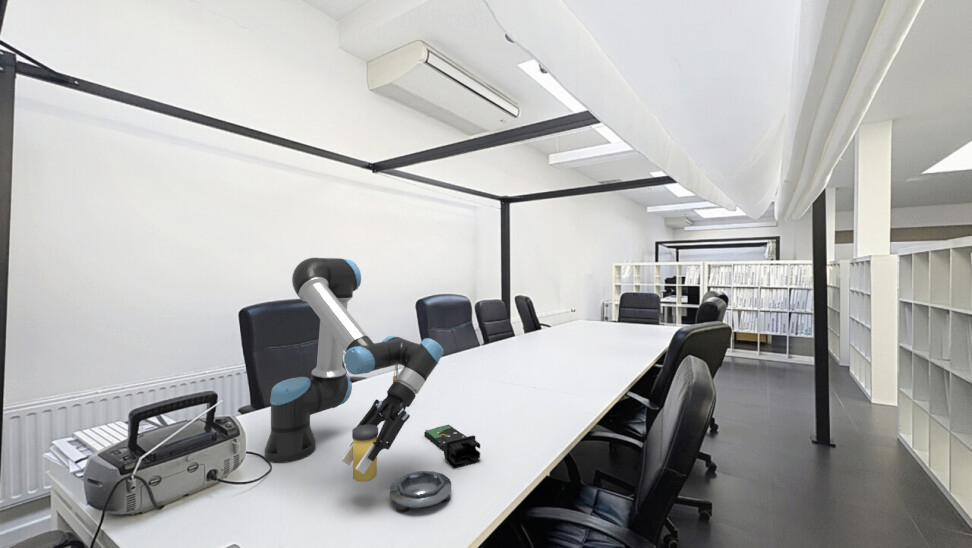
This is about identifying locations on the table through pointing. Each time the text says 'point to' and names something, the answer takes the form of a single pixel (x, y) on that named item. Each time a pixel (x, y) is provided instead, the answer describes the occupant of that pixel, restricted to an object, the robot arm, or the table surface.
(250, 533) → the table surface
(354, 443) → the capped yellow cylinder
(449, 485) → the grey round dish
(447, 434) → the disk drive
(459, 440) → the end cap
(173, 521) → the table surface
